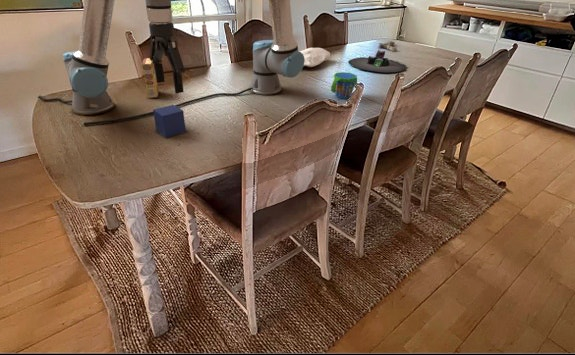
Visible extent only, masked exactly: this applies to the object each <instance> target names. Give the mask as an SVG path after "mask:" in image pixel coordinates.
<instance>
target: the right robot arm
mask: <svg viewBox="0 0 575 355" xmlns="http://www.w3.org/2000/svg"><path fill="white" fill-rule="evenodd" d="M176 1H179V0H145V9H146V10H145V11H146V17H147V21H148V22H149V23H148V27H149V34H150V35H149V36H150V50H149V58H150V60H151V61H153V64H154V68H155V74H156V81H157V84H161V83H165V81H166V80H165V75H164V67H163V66H164V65H163V59H162V58H163V56H165V57H166V58H167V60H168V62H169V65H170V67H171V69H172V71H173V72H172V79H173V86H174V94H181V93H184V84H183V75H182V74H184V73H186V70H185V66H184V62H183V60H182V57H181V54H180V50H179V47H178V41H176V40H175V41H174V40H172V37H173V36H174V35H175V26H174V22H173V21H174V18H173V13H174V12H173V10H172V2H176ZM267 2H268V9H269V16H270V21H271V22H270V24H271V25H270V26H271V30H272V31H271V32H272V39H264V40H263V39H262V40H258V41H255V42H254V43H253V44H252V69H253V70H252V77H251V81H250V83H249V87H248V88H246V89H243V90H241V91H239V92H235V93H234V92H231V93H230V92H229V93H228V92H218V93H212V94H209V95H204V96H201V97H198V98H197V97H196V98H194V99H191V100H188V101H187V100H186V101H184V102H180V103H178V104H174V105H175V106H176V107H178V108H180V107H182V106H185V105H188V104H190V103H191V104H192V103H195V102H198V101H201V100H205V99H209V98H212V97H217V96H230V97H231V96H239V95H242V94H244V93H247V92H249V91H250V92H251V93H253V94H255V95H261V96H271V95H277V94H279V93H281V92H282V85H281V81H280V78H279V75H281V76H282V77H285V78H290V79H291V78H295V77H297V76H298V75H299V74H300V73H301V72H302V70H303V68H304V67H305V66H304V55H303V54H302V53H301V52H299V51H300V50H299V44H298V42H297V41H296V40H294V39H295V38H294V29H293V28H294V27H293V19H292V18H293V17H292V8H291V0H267ZM151 115H154V113H153V111H150V112H146V113H141V114H136V115H131V116H126V117H119V118H112V119H105V120H95V121H85V122H83V126H87V125H88V126H89V125H99V124H100V125H101V124H107V123H114V122H120V121H127V120H132V119H138V118H142V117H146V116H151Z"/></svg>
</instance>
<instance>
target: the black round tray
mask: <svg viewBox="0 0 575 355" xmlns="http://www.w3.org/2000/svg"><path fill="white" fill-rule="evenodd" d="M385 55H386V51H385V50H380V49H378V50H377V52H376V53H375V55H374V56H371V55H369V56H368V57H365V56H364V57H362V56H360V57H355V58H351V59H349V60H348V61H347V63H348V64H349V65H350V66H352V67H354V68H356V69H358V70H364V71H369V72H376V73H385V74H386V73H399V72H402V71H404V70H406V68H407V65H406V64H404V63H402V62H401V63H400V62H399V61H395V60H392V59H389V58H388V57H385Z"/></svg>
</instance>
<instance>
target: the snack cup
mask: <svg viewBox="0 0 575 355" xmlns="http://www.w3.org/2000/svg"><path fill="white" fill-rule="evenodd" d="M333 78H334V79H333V81H332V83H331V88H330V91H331V92H332V93H335V97H337V98H339V99H345V100H347V99H350V98H351V97H350V95H351V93H352V94H353V91H354V88H356V87H355V85H356V84H357V85H358V76H357V74H354V73H352V72H345V71H343V72H342V71H339V72H336V73H334V74H333ZM351 96H352V95H351ZM349 97H350V98H349Z"/></svg>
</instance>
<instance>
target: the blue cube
mask: <svg viewBox="0 0 575 355" xmlns="http://www.w3.org/2000/svg"><path fill="white" fill-rule="evenodd" d="M175 105H176V104H170V105H166V106H162V107H158V108H153V109H152V112H153V113H154V114H153V119H154V123H155V129H156V132H158V133H159V134H160V135H162V136H163V137H164V138H166V139H167V138H170V137H173V136H176V135H181V134H184V133H186V132H187V129H186V123H185V122H186V121H185V114H184V110H183V109H181V108H180V107H176V106H175Z"/></svg>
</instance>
